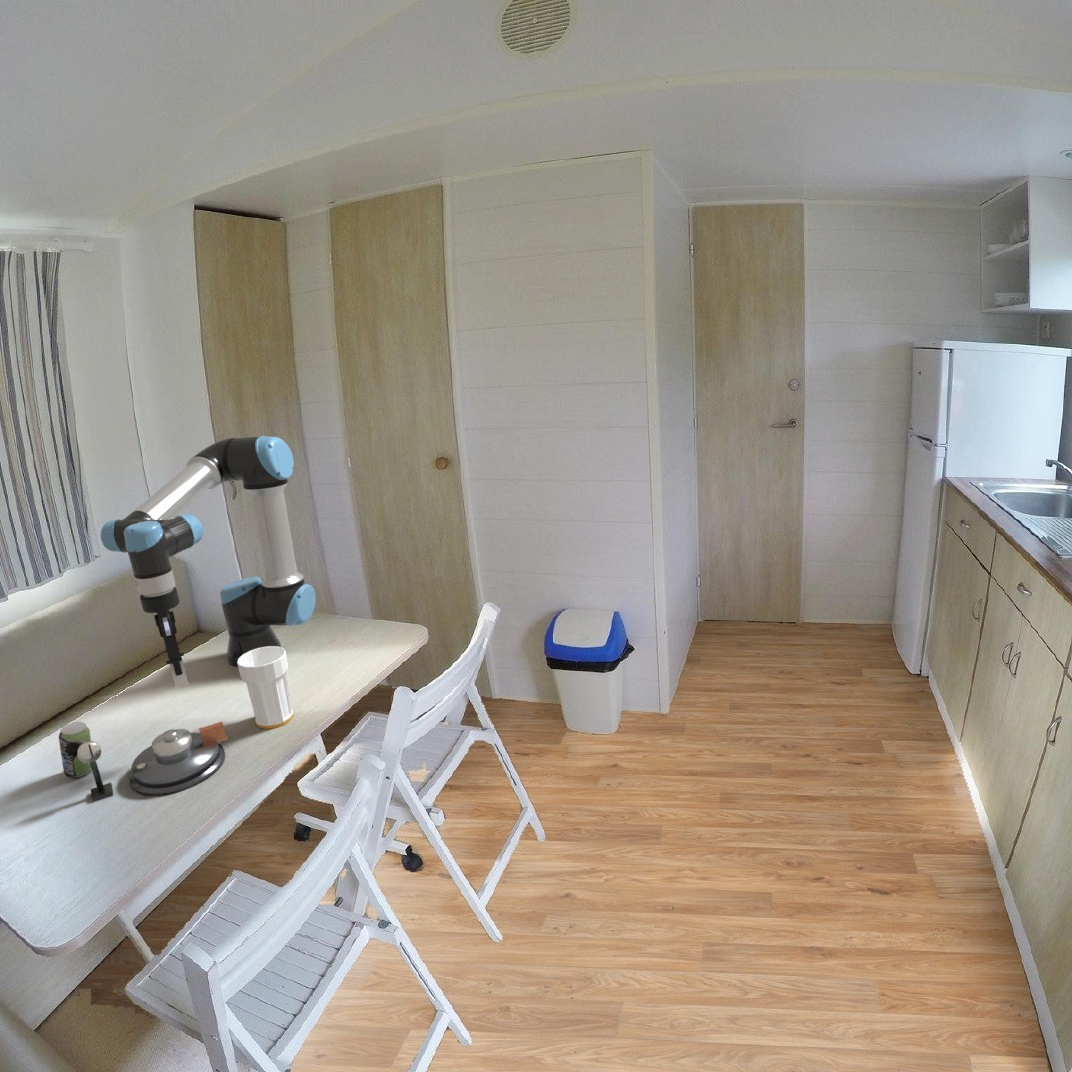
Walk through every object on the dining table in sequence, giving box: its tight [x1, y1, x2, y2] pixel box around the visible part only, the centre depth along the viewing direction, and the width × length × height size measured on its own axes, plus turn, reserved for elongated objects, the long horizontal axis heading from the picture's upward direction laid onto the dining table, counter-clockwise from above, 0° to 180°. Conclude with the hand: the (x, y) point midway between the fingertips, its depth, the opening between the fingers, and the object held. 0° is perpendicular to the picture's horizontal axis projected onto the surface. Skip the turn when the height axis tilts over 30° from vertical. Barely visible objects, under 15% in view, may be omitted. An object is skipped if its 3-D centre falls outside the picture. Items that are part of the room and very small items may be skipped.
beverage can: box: [58, 721, 92, 778], centre depth 174 cm, size 6×7×12 cm
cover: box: [151, 728, 194, 765], centre depth 173 cm, size 8×8×6 cm
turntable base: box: [128, 742, 226, 797], centre depth 174 cm, size 20×20×1 cm
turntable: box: [131, 720, 228, 788], centre depth 173 cm, size 18×20×6 cm
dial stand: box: [77, 740, 114, 803], centre depth 165 cm, size 4×4×13 cm
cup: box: [237, 646, 294, 730], centre depth 189 cm, size 11×11×17 cm
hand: (181, 685), depth 178 cm, fingers closed
